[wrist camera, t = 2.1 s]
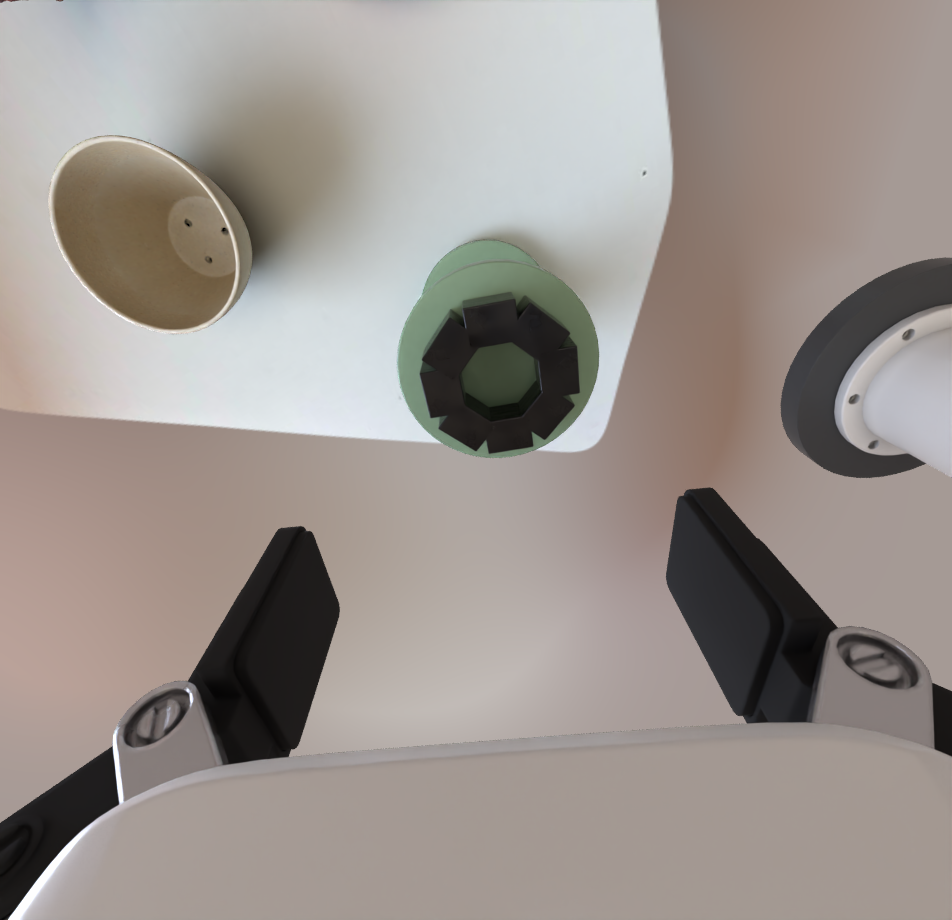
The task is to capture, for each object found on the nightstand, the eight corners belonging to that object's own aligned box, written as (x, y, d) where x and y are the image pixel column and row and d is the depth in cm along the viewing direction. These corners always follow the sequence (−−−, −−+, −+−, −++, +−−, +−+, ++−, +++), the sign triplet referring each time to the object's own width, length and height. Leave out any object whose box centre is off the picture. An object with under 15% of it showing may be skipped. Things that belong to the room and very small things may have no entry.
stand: (544, 227, 31) (595, 241, 19) (556, 362, 36) (602, 442, 24) (407, 254, 32) (371, 284, 20) (436, 383, 37) (423, 471, 25)
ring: (565, 281, 20) (574, 287, 18) (575, 423, 23) (583, 439, 22) (409, 310, 20) (405, 319, 19) (442, 445, 24) (440, 462, 22)
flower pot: (312, 266, 32) (276, 280, 26) (211, 334, 34) (155, 362, 28) (209, 115, 28) (134, 89, 21) (100, 204, 30) (4, 204, 24)
